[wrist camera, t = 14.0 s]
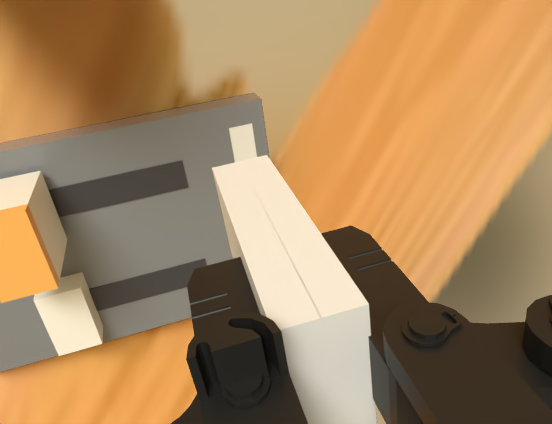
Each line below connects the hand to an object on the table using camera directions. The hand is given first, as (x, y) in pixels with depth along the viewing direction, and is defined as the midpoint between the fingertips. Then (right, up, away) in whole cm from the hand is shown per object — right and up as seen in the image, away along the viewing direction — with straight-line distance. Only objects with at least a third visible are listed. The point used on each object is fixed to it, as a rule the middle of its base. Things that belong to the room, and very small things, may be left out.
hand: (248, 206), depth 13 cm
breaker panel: (-11, -2, +22) cm, 25 cm away
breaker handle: (-15, 0, +17) cm, 23 cm away
